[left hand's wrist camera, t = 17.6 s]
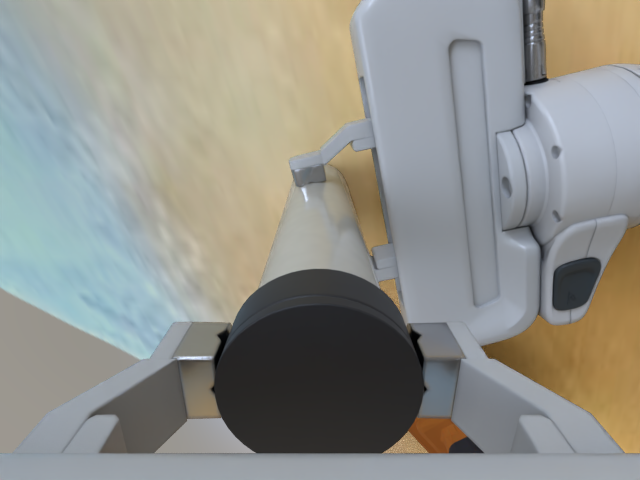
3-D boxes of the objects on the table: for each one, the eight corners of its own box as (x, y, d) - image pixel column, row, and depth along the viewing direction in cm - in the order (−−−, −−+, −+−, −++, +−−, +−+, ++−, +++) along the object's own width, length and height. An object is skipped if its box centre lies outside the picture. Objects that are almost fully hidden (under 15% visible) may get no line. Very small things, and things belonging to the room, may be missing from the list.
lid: (367, 237, 9) (378, 268, 7) (431, 381, 11) (451, 433, 9) (197, 309, 10) (172, 353, 8) (280, 434, 11) (273, 492, 10)
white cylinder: (359, 193, 27) (439, 383, 9) (317, 229, 28) (314, 465, 10) (321, 150, 26) (325, 269, 8) (279, 190, 27) (197, 375, 9)
